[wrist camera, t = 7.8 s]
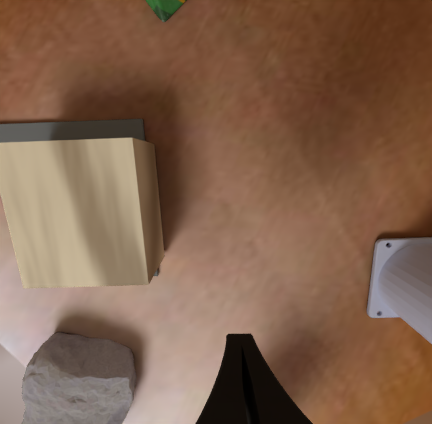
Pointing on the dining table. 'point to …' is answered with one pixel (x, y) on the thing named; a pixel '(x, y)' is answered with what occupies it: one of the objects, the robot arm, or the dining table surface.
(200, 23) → the dining table surface
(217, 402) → the robot arm
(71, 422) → the stone block
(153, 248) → the birch block
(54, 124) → the slate mat
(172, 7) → the chalk box
